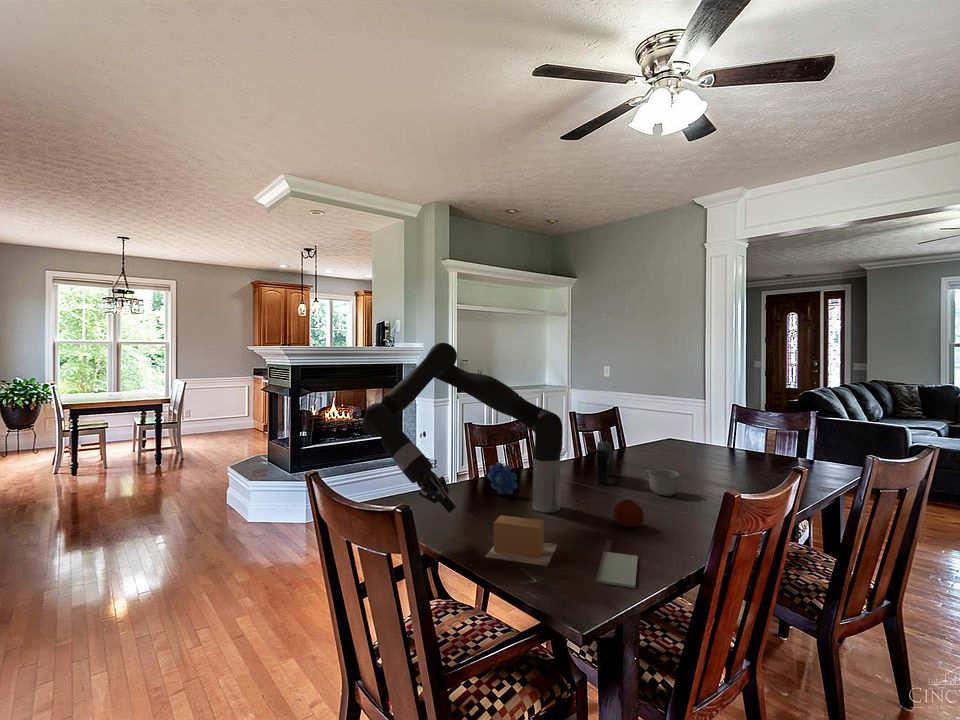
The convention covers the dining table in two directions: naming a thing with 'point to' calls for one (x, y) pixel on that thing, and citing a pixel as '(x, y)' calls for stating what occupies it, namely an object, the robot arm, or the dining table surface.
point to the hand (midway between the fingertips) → (452, 510)
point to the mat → (617, 569)
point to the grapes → (502, 478)
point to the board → (542, 559)
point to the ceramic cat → (604, 461)
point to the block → (519, 536)
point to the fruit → (628, 513)
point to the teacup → (663, 481)
